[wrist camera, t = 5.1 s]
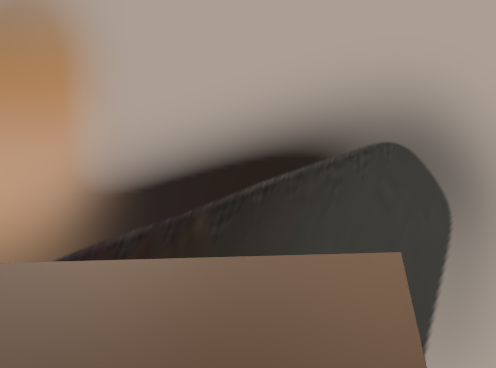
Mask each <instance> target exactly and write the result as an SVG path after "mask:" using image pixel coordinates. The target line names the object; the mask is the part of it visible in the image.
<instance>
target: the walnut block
mask: <svg viewBox="0 0 496 368" xmlns="http://www.w3.org/2000/svg"><path fill="white" fill-rule="evenodd" d="M0 368H427V367H426V363H425V358H424V354H423V349H422V345H421V340H420V336H419V331H418V327H417V323H416V318H415V314H414V309H413V305H412V300H411V296H410V291H409V287H408V283H407V278H406V274H405V269H404V265H403V260H402V256H401V252H395V253H358V254H322V255H285V256H248V257H211V258H174V259H138V260H101V261H64V262H30V263H28V262H27V263H0Z"/></svg>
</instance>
